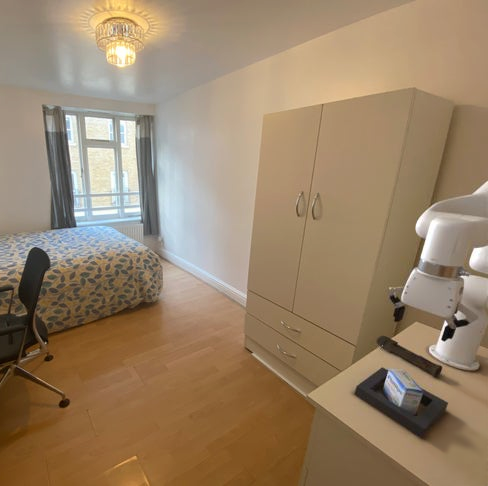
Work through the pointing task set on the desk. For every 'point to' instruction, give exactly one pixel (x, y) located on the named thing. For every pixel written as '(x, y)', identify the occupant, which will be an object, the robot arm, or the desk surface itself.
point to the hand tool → (409, 355)
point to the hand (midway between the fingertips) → (420, 329)
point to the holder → (396, 413)
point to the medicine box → (402, 390)
